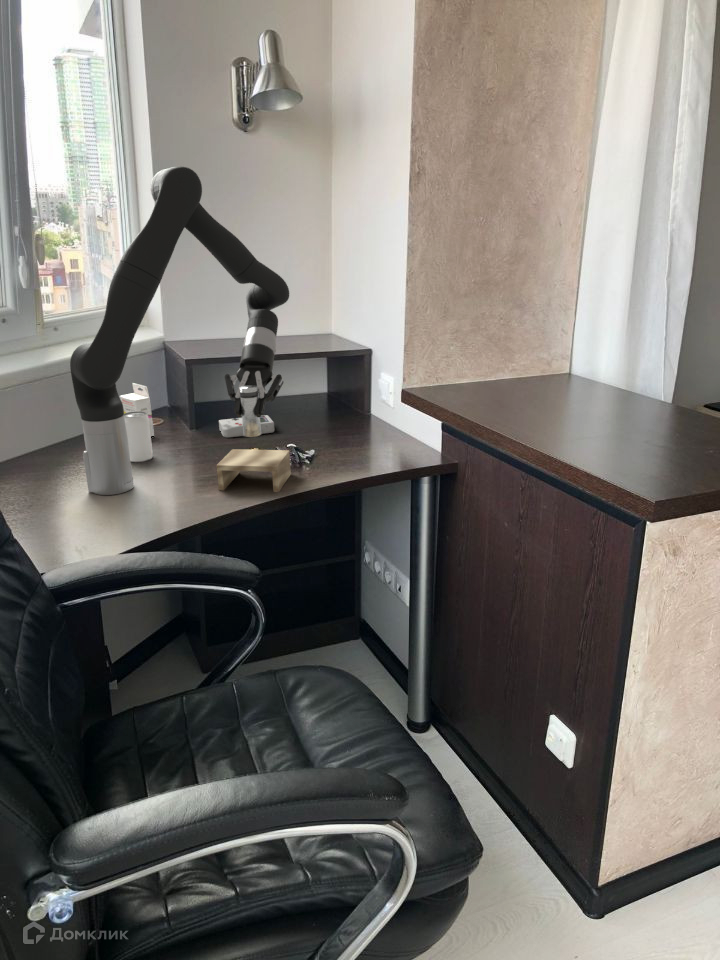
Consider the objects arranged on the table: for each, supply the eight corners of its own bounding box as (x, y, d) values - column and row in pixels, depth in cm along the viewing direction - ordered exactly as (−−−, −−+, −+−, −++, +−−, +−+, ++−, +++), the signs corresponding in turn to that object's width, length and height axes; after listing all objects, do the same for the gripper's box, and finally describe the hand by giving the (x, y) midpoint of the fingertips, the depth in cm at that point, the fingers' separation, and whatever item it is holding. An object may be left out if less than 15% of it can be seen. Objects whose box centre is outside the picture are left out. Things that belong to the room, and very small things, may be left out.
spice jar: (241, 436, 171) (237, 389, 167) (246, 431, 175) (242, 385, 171) (258, 437, 170) (254, 389, 166) (263, 431, 174) (259, 385, 170)
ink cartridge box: (123, 435, 216) (117, 385, 211) (139, 431, 220) (132, 382, 215) (140, 441, 211) (133, 389, 206) (155, 437, 214) (149, 386, 209)
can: (122, 459, 195) (116, 414, 191) (144, 453, 199) (138, 409, 195) (136, 464, 191) (130, 418, 187) (158, 458, 195) (152, 413, 191)
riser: (218, 490, 172) (216, 465, 170) (234, 472, 183) (232, 449, 181) (278, 491, 170) (276, 466, 168) (290, 474, 181) (289, 450, 179)
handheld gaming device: (219, 431, 219) (218, 419, 218) (268, 426, 223) (267, 413, 222) (224, 440, 211) (222, 427, 210) (274, 434, 215) (274, 421, 214)
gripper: (224, 342, 174) (212, 406, 166) (284, 341, 171) (275, 407, 164) (233, 360, 180) (222, 423, 173) (291, 360, 178) (282, 424, 171)
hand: (248, 415), depth 169 cm, fingers closed on spice jar, 4 cm apart
